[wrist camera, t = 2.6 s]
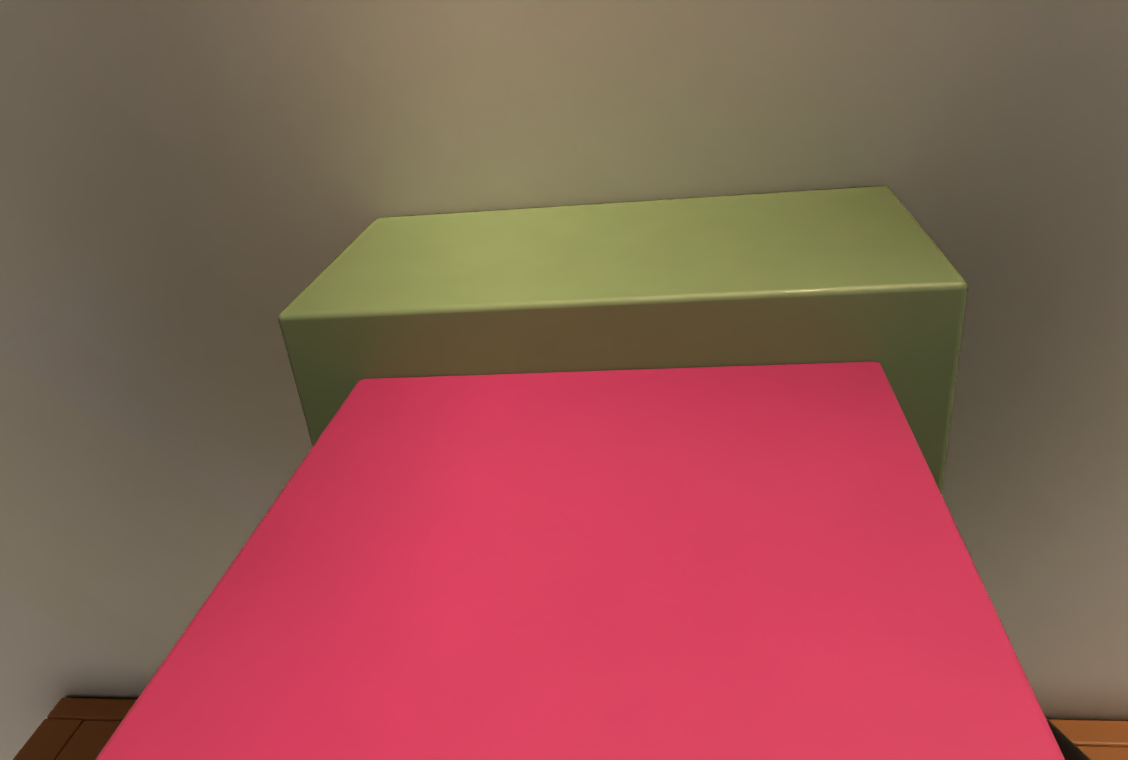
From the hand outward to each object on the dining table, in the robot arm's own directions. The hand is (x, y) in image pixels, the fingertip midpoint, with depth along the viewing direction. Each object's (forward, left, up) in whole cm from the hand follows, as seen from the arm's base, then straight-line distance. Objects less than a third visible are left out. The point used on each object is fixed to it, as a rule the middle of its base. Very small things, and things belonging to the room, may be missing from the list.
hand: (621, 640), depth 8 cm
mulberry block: (0, 0, -1) cm, 1 cm away
